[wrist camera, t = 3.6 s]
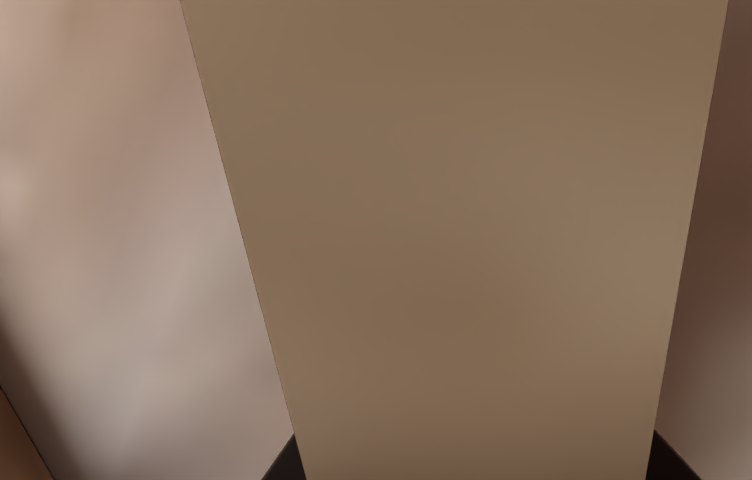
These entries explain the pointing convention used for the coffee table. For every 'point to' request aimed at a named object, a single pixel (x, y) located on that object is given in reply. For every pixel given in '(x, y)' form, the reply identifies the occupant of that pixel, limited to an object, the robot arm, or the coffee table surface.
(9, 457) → the end cap base
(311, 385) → the birch slat
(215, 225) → the coffee table surface
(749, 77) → the coffee table surface
